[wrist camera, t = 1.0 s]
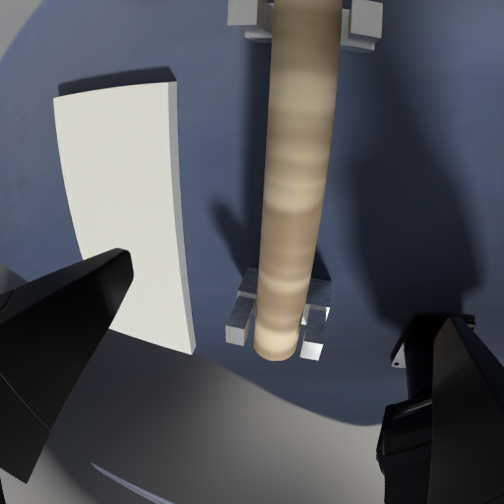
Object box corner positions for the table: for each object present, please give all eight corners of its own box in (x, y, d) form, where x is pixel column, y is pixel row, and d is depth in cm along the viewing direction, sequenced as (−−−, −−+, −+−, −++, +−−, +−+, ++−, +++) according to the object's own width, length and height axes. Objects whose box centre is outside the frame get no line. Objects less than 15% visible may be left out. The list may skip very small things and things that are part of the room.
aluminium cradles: (326, 300, 24) (319, 362, 19) (247, 286, 25) (223, 343, 20) (369, 24, 13) (386, 0, 8) (259, 13, 14) (225, -12, 9)
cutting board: (195, 346, 31) (191, 354, 30) (111, 320, 33) (105, 327, 32) (176, 81, 18) (168, 82, 17) (63, 95, 20) (53, 98, 19)
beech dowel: (298, 333, 22) (292, 364, 20) (259, 325, 23) (249, 355, 20) (342, -9, 10) (343, -27, 8) (280, -14, 11) (268, -31, 8)
